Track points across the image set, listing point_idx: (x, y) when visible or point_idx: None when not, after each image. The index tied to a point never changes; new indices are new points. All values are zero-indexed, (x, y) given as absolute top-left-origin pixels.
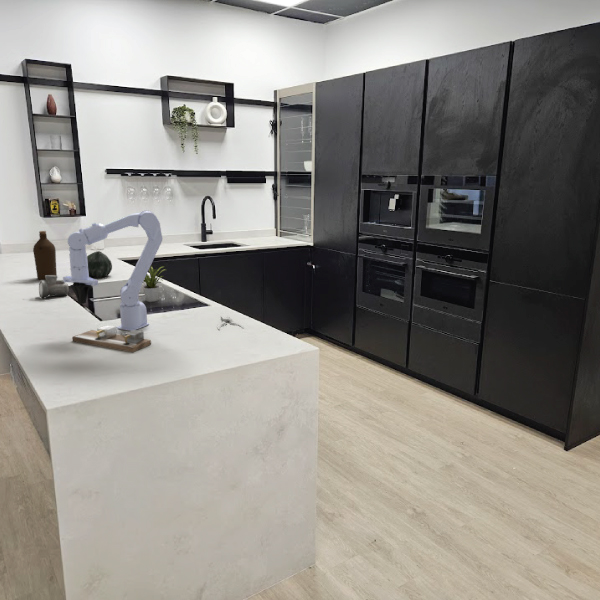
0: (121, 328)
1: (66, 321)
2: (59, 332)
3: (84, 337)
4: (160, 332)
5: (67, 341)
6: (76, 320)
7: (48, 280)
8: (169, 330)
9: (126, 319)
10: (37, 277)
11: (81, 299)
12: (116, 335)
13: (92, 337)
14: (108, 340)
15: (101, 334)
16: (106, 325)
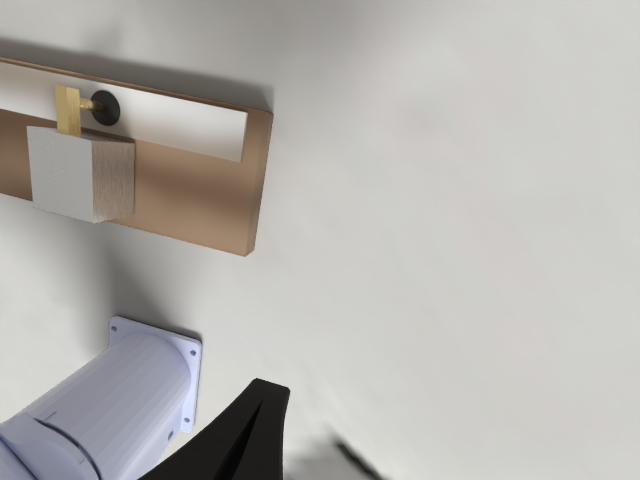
0: (168, 333)
1: (511, 420)
2: (438, 239)
3: (186, 110)
4: (20, 320)
5: (296, 101)
6: (464, 438)
7: None
8: (11, 347)
9: (105, 361)
10: None
11: (225, 412)
12: None
13: (149, 124)
14: (47, 99)
15: (93, 136)
16: (91, 217)
